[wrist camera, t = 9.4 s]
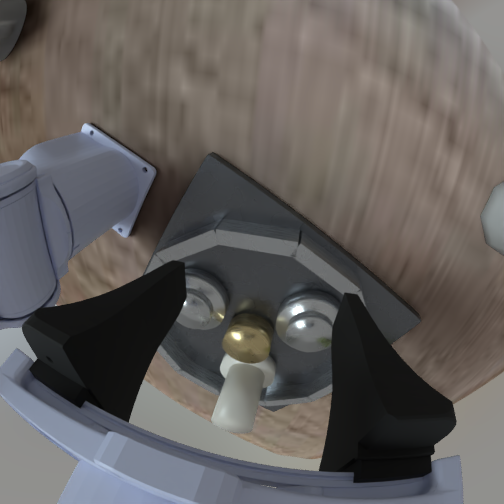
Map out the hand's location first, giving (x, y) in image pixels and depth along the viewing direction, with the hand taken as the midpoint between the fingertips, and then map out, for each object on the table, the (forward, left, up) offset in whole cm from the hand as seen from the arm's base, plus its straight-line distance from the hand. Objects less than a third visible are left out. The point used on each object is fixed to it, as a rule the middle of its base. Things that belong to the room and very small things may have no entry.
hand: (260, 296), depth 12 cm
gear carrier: (+5, -11, -10) cm, 16 cm away
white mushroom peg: (+8, -16, -9) cm, 20 cm away
